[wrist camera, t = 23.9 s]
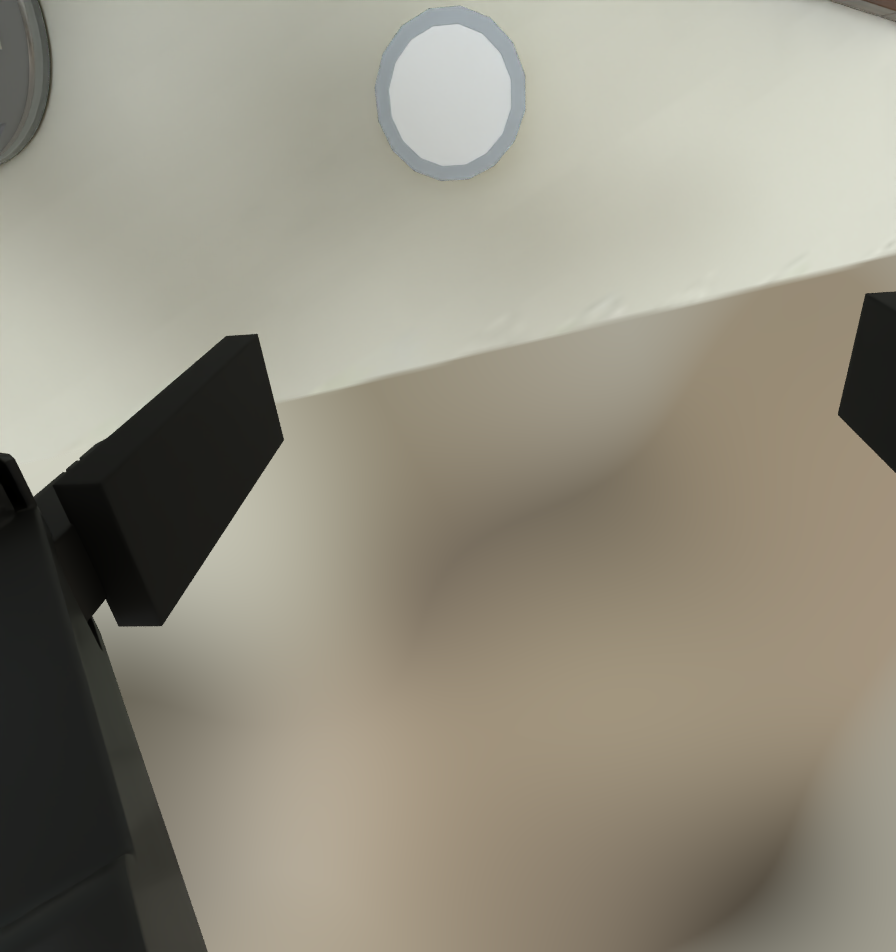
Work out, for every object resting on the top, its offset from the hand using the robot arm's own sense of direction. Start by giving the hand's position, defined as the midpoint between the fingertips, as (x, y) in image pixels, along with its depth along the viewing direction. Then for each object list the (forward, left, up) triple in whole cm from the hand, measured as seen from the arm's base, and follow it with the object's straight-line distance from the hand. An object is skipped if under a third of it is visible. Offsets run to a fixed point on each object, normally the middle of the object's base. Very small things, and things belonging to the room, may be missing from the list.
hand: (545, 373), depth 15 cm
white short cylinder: (-5, +4, -27) cm, 28 cm away
